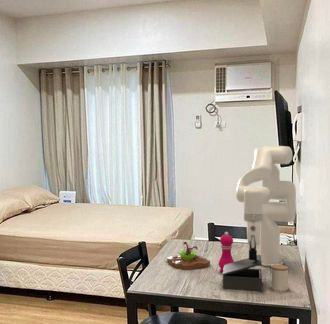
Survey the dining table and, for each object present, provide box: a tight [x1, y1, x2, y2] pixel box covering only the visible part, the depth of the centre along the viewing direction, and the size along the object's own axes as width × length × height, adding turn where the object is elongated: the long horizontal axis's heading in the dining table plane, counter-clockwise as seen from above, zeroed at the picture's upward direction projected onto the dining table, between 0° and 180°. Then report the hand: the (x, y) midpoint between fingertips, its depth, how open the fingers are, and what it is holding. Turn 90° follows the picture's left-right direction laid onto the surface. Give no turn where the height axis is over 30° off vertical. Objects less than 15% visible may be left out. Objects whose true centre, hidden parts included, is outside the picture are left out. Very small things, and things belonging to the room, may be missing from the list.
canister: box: [270, 264, 289, 292], centre depth 203 cm, size 7×7×10 cm
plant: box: [166, 241, 211, 271], centre depth 246 cm, size 20×20×11 cm
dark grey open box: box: [222, 268, 263, 293], centre depth 208 cm, size 16×15×6 cm
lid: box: [222, 254, 262, 277], centre depth 208 cm, size 16×15×1 cm
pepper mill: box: [218, 231, 235, 274], centre depth 228 cm, size 7×7×20 cm
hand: (252, 259), depth 207 cm, fingers closed
